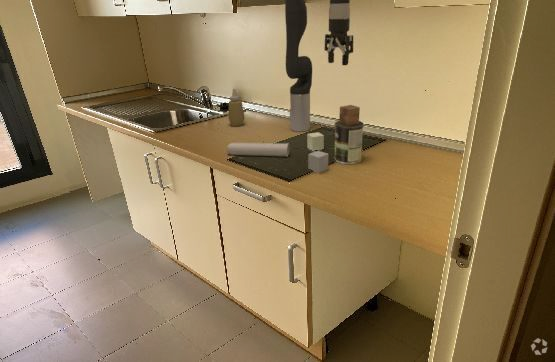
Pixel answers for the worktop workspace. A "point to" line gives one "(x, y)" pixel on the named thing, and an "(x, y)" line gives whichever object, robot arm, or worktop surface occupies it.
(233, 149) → the tube
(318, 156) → the slate grey block
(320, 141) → the pale sage block
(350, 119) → the walnut block
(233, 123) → the squeeze bottle
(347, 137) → the coffee can
